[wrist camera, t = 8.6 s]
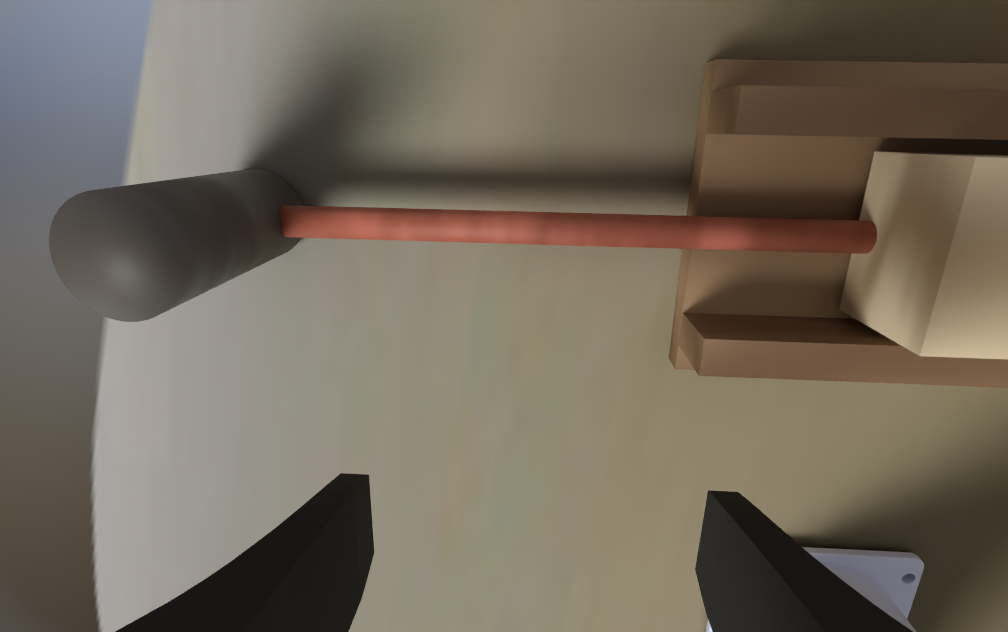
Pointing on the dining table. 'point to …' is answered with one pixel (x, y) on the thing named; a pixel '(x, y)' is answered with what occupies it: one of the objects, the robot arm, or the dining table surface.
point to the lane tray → (816, 209)
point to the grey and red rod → (571, 242)
